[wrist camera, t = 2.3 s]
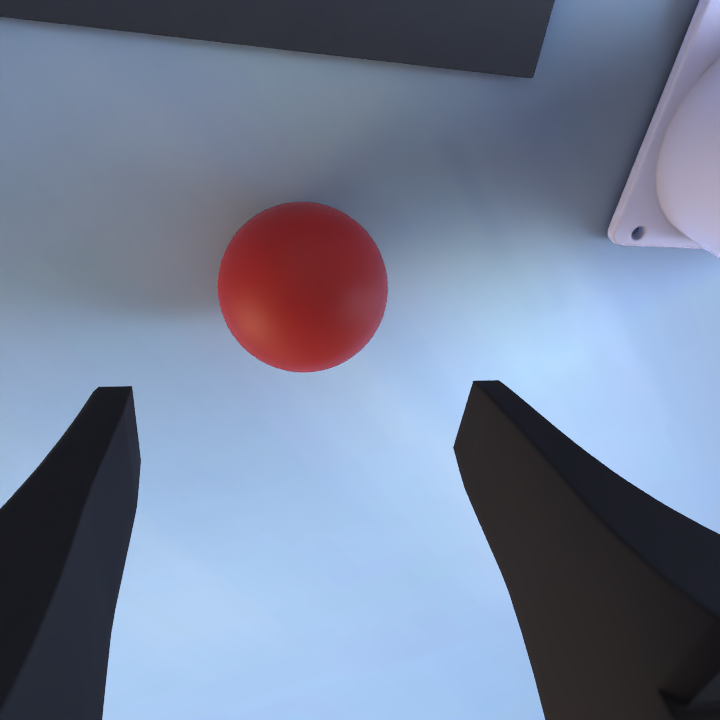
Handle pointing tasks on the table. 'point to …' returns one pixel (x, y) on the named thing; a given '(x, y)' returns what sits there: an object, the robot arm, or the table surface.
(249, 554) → the table surface
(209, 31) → the mat
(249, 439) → the table surface
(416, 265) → the table surface
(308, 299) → the ball
